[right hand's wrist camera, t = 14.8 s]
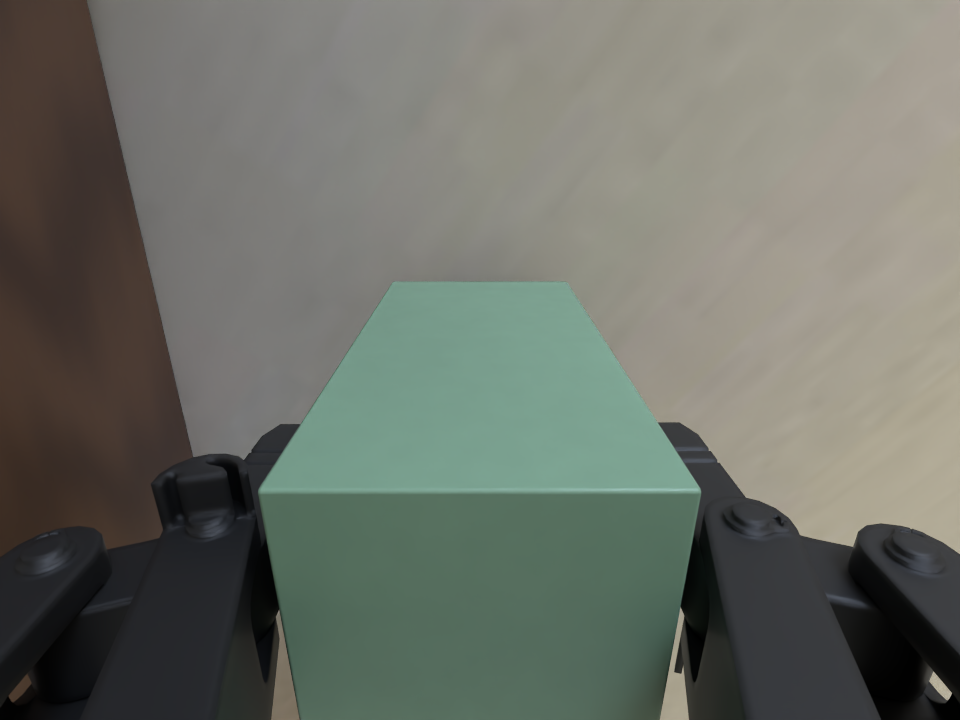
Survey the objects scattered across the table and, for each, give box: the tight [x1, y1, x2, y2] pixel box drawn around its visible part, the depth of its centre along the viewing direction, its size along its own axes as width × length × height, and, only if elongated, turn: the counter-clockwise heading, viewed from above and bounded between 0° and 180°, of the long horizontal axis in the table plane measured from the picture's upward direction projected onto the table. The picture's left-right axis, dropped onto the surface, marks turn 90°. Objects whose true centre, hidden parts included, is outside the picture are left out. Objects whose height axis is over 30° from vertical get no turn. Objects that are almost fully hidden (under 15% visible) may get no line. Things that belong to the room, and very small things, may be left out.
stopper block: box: [258, 282, 701, 720], centre depth 11 cm, size 5×5×10 cm
